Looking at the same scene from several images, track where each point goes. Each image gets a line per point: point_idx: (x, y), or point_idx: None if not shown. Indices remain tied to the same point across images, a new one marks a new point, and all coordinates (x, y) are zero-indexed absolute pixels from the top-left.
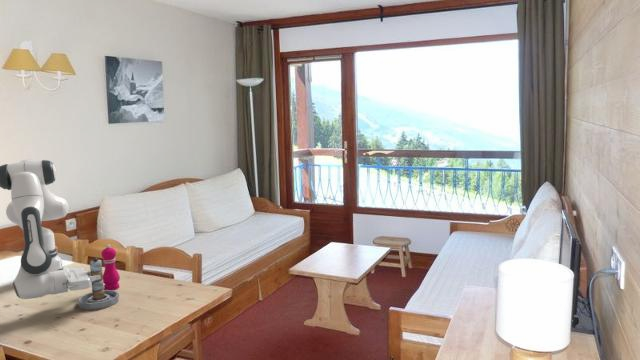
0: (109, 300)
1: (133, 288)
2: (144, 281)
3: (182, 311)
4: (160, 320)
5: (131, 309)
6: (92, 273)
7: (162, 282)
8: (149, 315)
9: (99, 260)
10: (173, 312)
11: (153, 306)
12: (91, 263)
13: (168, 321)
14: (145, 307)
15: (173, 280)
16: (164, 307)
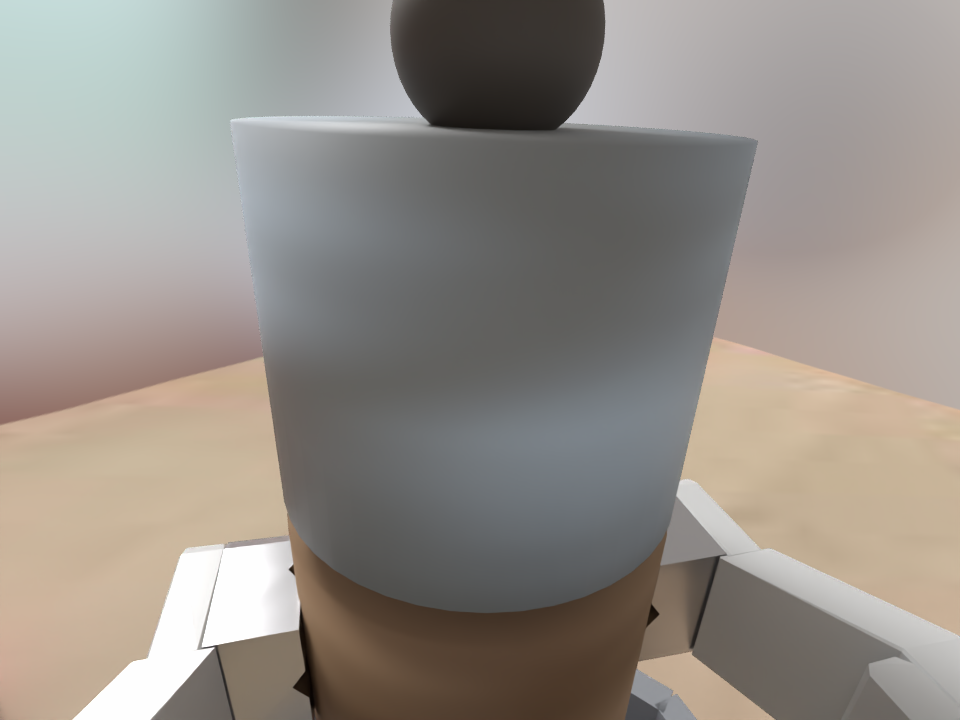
0: (688, 709)
1: (171, 542)
2: (55, 472)
3: (785, 375)
4: (945, 438)
5: None
6: (643, 603)
7: (219, 400)
8: (878, 473)
9: (424, 119)
10: (804, 396)
11: (703, 452)
12: (744, 176)
13: (946, 416)
14: (721, 485)
15: (236, 366)
16: (724, 416)
